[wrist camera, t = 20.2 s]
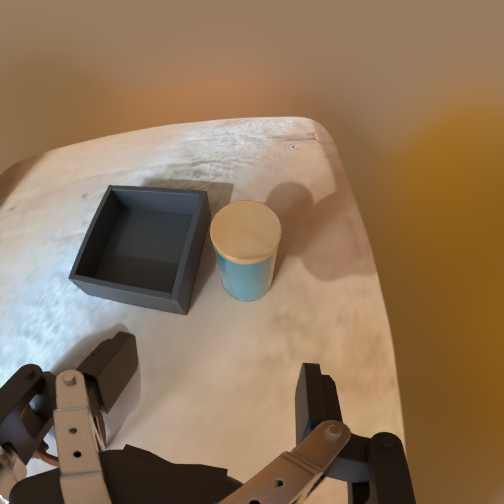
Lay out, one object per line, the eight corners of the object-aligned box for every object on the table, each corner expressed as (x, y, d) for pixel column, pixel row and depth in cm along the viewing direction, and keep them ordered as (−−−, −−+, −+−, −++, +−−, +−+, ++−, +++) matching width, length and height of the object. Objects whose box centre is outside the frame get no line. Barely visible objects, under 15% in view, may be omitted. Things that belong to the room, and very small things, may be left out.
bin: (87, 294, 27) (68, 278, 23) (120, 206, 32) (109, 185, 29) (186, 315, 26) (176, 301, 23) (211, 215, 31) (206, 191, 28)
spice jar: (210, 286, 27) (195, 239, 20) (238, 246, 30) (234, 190, 22) (256, 312, 26) (259, 272, 19) (282, 269, 28) (293, 217, 21)
